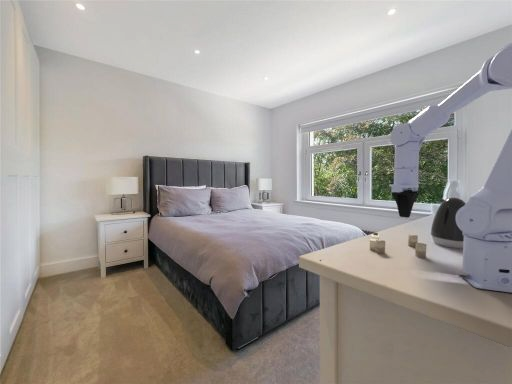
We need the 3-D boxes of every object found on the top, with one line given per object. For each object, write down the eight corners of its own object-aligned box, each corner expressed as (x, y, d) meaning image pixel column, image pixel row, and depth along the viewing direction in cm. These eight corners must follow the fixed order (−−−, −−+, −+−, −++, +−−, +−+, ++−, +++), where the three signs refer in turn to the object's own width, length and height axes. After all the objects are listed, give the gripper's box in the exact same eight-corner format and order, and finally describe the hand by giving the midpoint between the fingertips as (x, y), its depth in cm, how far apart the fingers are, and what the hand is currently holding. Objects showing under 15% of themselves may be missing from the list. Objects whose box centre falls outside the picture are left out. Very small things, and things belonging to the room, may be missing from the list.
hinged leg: (371, 241, 71) (371, 232, 71) (379, 242, 70) (379, 232, 70) (369, 249, 64) (369, 238, 64) (377, 250, 63) (378, 239, 63)
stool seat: (433, 265, 55) (434, 247, 55) (372, 258, 60) (373, 242, 59) (415, 248, 68) (416, 234, 68) (367, 244, 73) (367, 230, 73)
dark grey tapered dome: (456, 244, 73) (458, 196, 72) (485, 254, 63) (488, 199, 62) (422, 243, 74) (424, 196, 73) (445, 253, 64) (447, 198, 63)
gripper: (399, 169, 72) (398, 213, 73) (380, 168, 63) (378, 217, 64) (427, 169, 67) (425, 215, 68) (409, 167, 58) (407, 221, 58)
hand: (404, 217), depth 65 cm, fingers closed
